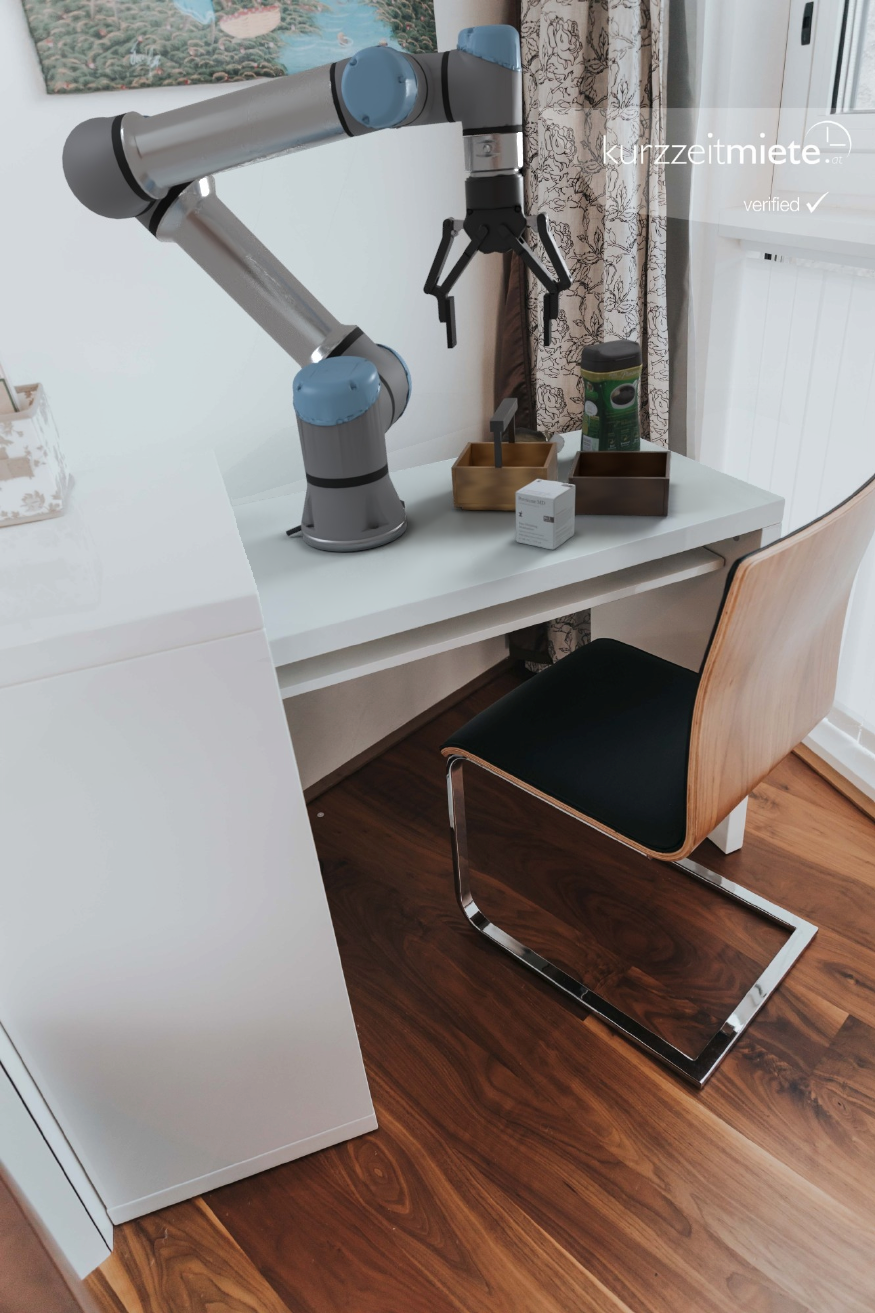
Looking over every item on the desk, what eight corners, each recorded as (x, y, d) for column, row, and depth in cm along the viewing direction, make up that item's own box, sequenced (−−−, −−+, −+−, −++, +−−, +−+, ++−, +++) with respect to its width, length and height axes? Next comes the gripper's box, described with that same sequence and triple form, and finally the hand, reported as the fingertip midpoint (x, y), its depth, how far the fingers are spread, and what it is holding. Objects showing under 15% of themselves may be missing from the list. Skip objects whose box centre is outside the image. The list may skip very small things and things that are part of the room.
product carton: (515, 543, 120) (513, 491, 117) (537, 527, 124) (536, 477, 121) (554, 550, 117) (554, 498, 113) (576, 534, 121) (576, 483, 118)
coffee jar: (619, 444, 153) (623, 333, 144) (647, 456, 147) (652, 340, 137) (572, 455, 150) (572, 342, 140) (597, 468, 144) (599, 350, 134)
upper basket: (454, 512, 132) (447, 421, 125) (470, 484, 142) (465, 398, 135) (547, 513, 128) (546, 420, 122) (557, 485, 138) (557, 397, 131)
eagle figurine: (535, 446, 152) (493, 448, 147) (555, 415, 147) (511, 416, 142) (555, 479, 149) (513, 482, 144) (576, 449, 143) (532, 451, 139)
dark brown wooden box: (567, 514, 128) (567, 477, 125) (576, 485, 138) (576, 450, 135) (667, 516, 124) (669, 478, 122) (669, 486, 134) (671, 450, 132)
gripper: (392, 181, 113) (406, 353, 124) (589, 168, 107) (586, 349, 118) (407, 178, 119) (420, 341, 130) (594, 165, 113) (591, 337, 124)
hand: (499, 345), depth 124 cm, fingers open, 13 cm apart
